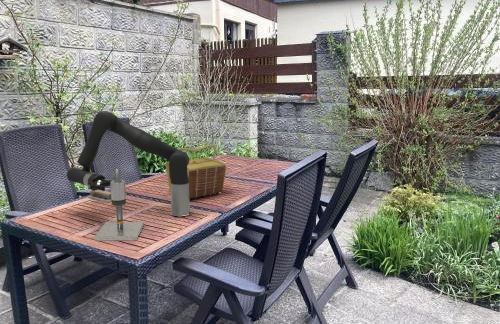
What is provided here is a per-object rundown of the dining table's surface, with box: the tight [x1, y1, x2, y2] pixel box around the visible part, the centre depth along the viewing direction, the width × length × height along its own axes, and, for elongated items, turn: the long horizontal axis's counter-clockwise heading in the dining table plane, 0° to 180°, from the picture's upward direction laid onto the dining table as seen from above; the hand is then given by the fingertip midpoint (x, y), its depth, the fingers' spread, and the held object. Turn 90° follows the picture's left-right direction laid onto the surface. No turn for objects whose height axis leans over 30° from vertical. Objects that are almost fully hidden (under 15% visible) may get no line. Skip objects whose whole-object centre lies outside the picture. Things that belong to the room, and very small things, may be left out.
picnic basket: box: [165, 144, 227, 200], centre depth 253 cm, size 29×26×30 cm
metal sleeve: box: [110, 179, 127, 201], centre depth 188 cm, size 6×6×8 cm
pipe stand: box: [94, 168, 145, 242], centre depth 189 cm, size 18×18×30 cm
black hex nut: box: [111, 198, 127, 207], centre depth 189 cm, size 6×6×2 cm
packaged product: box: [87, 190, 112, 204], centre depth 246 cm, size 18×5×10 cm
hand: (112, 186), depth 191 cm, fingers open, 8 cm apart
